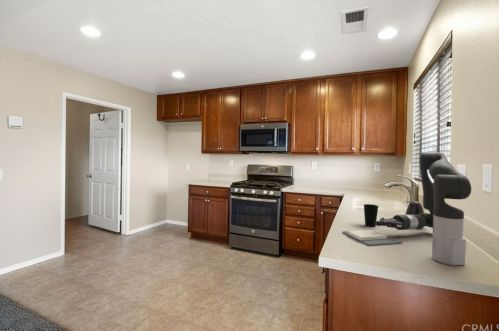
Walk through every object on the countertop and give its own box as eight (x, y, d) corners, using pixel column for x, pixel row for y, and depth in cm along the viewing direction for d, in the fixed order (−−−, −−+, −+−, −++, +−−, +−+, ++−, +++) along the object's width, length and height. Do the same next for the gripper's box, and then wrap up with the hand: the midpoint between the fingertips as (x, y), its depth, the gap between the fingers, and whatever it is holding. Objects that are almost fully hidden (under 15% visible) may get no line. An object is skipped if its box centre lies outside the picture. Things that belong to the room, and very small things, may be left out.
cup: (362, 226, 146) (363, 205, 146) (363, 223, 153) (364, 203, 152) (377, 228, 142) (378, 207, 142) (377, 225, 149) (378, 205, 149)
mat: (402, 243, 117) (402, 241, 117) (368, 246, 113) (368, 244, 113) (372, 231, 136) (372, 229, 136) (342, 232, 132) (342, 231, 132)
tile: (386, 235, 121) (361, 237, 117) (386, 238, 121) (361, 240, 118) (372, 229, 130) (348, 231, 127) (372, 232, 130) (348, 234, 127)
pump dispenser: (400, 225, 149) (400, 200, 148) (411, 224, 153) (412, 199, 153) (417, 230, 139) (418, 203, 139) (429, 228, 144) (430, 201, 143)
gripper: (395, 212, 135) (367, 213, 131) (416, 217, 122) (386, 219, 118) (394, 225, 135) (366, 227, 131) (416, 233, 123) (385, 235, 119)
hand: (376, 223), depth 125 cm, fingers closed
